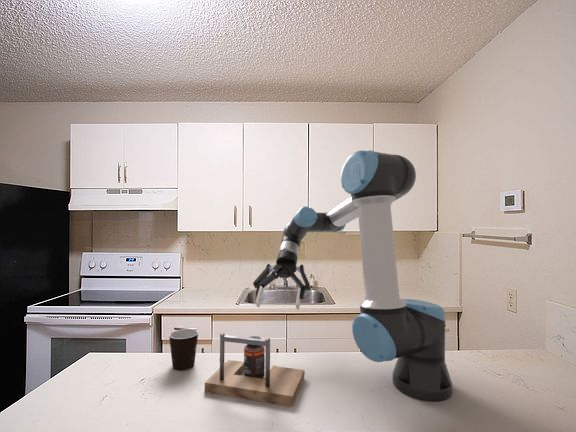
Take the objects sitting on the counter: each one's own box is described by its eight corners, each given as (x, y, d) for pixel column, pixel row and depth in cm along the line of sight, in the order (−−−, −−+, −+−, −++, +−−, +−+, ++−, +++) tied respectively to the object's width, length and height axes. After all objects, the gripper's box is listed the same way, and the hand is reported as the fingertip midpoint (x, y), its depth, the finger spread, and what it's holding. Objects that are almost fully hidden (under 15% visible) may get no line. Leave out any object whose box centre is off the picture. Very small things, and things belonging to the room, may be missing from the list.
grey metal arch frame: (270, 384, 81) (270, 338, 81) (268, 387, 80) (269, 340, 80) (220, 377, 85) (221, 333, 85) (218, 379, 84) (219, 334, 84)
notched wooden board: (304, 378, 89) (304, 369, 89) (292, 406, 76) (292, 396, 76) (228, 367, 96) (228, 359, 96) (204, 392, 82) (204, 382, 82)
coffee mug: (189, 374, 92) (189, 340, 92) (162, 371, 93) (163, 337, 94) (207, 357, 103) (207, 326, 103) (183, 354, 105) (183, 324, 105)
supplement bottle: (268, 375, 91) (268, 336, 91) (258, 385, 86) (258, 343, 86) (250, 371, 94) (251, 333, 94) (239, 380, 88) (240, 340, 89)
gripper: (321, 263, 117) (316, 314, 101) (259, 261, 123) (244, 309, 108) (319, 249, 112) (313, 301, 97) (254, 249, 118) (238, 297, 103)
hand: (277, 306), depth 102 cm, fingers open, 13 cm apart
